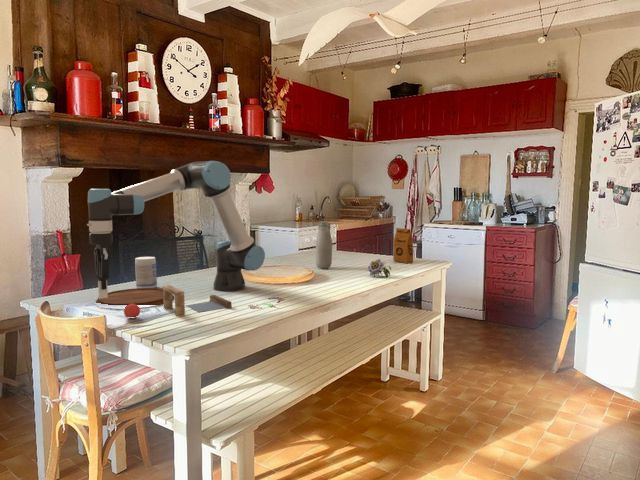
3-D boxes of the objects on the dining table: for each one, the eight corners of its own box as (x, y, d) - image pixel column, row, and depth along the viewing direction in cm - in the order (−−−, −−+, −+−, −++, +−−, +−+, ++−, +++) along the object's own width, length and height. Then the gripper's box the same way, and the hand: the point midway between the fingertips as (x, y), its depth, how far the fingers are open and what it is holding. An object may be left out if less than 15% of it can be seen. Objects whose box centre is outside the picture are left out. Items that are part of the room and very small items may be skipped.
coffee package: (405, 264, 306) (406, 229, 304) (391, 261, 316) (391, 228, 313) (415, 262, 313) (416, 228, 310) (401, 260, 322) (401, 227, 320)
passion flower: (373, 287, 264) (361, 268, 265) (382, 280, 273) (370, 262, 274) (388, 277, 257) (375, 259, 259) (396, 271, 266) (384, 253, 267)
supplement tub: (158, 288, 233) (157, 258, 231) (137, 290, 229) (136, 259, 227) (155, 285, 241) (154, 255, 240) (135, 286, 237) (134, 257, 236)
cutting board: (181, 304, 205) (181, 298, 204) (99, 314, 189) (98, 308, 189) (165, 290, 232) (165, 285, 232) (91, 297, 216) (91, 292, 216)
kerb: (214, 300, 210) (214, 294, 210) (231, 307, 198) (231, 301, 197) (210, 301, 209) (209, 295, 209) (227, 308, 196) (226, 302, 196)
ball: (137, 315, 185) (137, 301, 185) (142, 319, 181) (141, 304, 180) (122, 318, 182) (121, 303, 181) (126, 321, 178) (126, 306, 177)
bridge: (170, 307, 198) (170, 285, 197) (184, 315, 186) (184, 291, 185) (163, 308, 196) (162, 286, 195) (177, 316, 185) (176, 292, 184)
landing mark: (214, 301, 209) (214, 300, 209) (228, 307, 199) (228, 306, 199) (185, 305, 201) (185, 305, 201) (198, 312, 191) (198, 311, 191)
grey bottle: (315, 270, 285) (316, 222, 281) (315, 267, 295) (315, 221, 291) (332, 270, 285) (333, 222, 282) (331, 267, 295) (332, 221, 292)
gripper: (85, 231, 175) (87, 295, 177) (93, 234, 165) (96, 302, 167) (107, 230, 179) (109, 293, 182) (117, 233, 169) (119, 299, 172)
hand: (103, 297), depth 174 cm, fingers closed
